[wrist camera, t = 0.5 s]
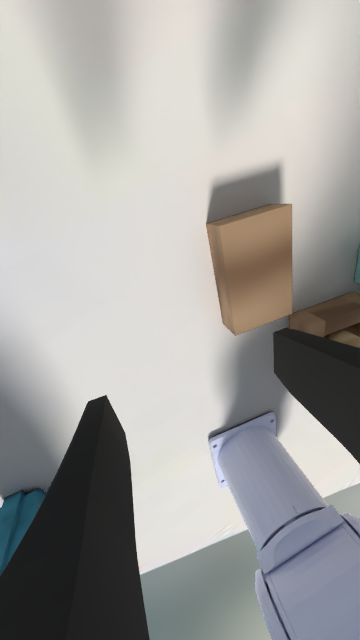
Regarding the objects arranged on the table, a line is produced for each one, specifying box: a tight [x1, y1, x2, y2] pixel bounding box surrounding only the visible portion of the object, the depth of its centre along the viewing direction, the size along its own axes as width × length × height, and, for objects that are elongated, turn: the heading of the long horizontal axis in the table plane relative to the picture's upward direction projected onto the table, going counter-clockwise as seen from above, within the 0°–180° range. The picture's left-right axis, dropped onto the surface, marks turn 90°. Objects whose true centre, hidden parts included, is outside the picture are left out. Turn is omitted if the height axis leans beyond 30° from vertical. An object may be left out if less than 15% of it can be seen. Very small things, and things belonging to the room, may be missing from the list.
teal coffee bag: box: [0, 488, 46, 575], centre depth 17 cm, size 10×4×15 cm, turn 16°
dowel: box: [324, 329, 360, 348], centre depth 21 cm, size 3×3×7 cm
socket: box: [289, 292, 360, 338], centre depth 23 cm, size 7×7×2 cm
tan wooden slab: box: [206, 204, 292, 336], centre depth 18 cm, size 8×5×2 cm, turn 13°
